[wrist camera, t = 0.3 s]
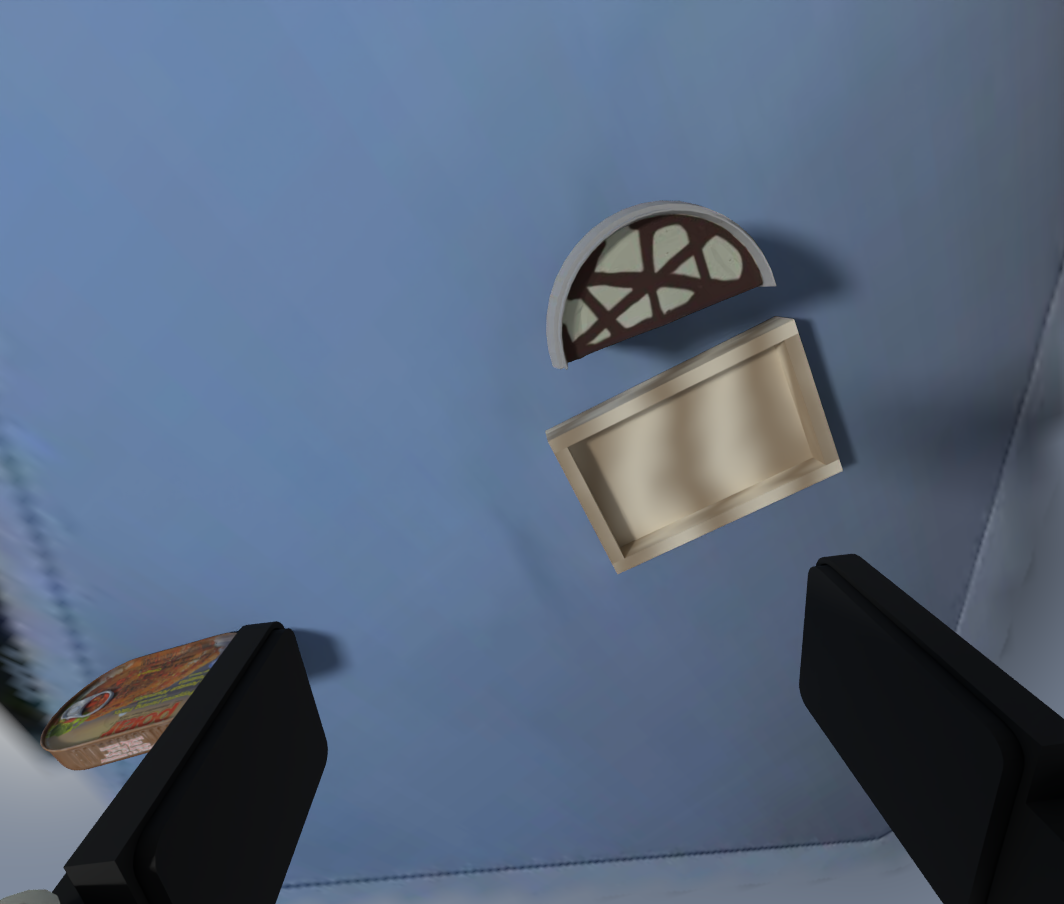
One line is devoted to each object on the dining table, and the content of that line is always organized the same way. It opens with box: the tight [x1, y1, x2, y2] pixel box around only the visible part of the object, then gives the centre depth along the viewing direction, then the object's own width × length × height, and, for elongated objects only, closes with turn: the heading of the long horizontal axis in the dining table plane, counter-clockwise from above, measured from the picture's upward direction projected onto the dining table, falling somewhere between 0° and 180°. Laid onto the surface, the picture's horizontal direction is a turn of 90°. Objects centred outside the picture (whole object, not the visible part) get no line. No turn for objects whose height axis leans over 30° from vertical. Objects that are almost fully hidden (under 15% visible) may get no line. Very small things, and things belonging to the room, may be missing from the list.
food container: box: [546, 201, 776, 370], centre depth 30 cm, size 12×6×10 cm, turn 112°
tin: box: [41, 633, 237, 770], centre depth 39 cm, size 15×3×8 cm, turn 106°
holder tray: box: [545, 316, 843, 574], centre depth 38 cm, size 18×12×2 cm, turn 117°
